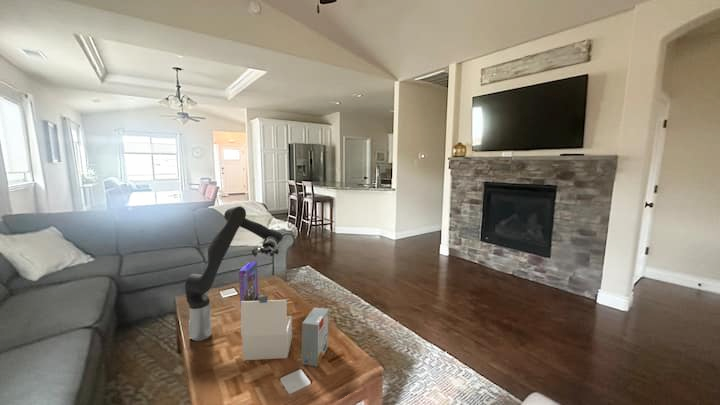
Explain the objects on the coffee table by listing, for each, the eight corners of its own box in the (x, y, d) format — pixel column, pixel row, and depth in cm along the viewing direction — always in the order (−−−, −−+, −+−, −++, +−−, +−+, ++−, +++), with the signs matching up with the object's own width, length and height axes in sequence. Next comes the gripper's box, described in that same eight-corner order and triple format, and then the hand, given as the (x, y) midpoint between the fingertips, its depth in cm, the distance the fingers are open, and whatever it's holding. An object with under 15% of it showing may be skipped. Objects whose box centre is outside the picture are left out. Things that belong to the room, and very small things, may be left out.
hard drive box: (317, 367, 128) (317, 325, 125) (301, 365, 129) (300, 323, 126) (328, 346, 143) (328, 308, 140) (313, 344, 144) (313, 306, 142)
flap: (241, 336, 130) (239, 340, 126) (241, 294, 129) (238, 297, 126) (286, 333, 132) (285, 337, 128) (286, 292, 131) (285, 295, 127)
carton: (242, 360, 132) (241, 335, 130) (252, 339, 147) (251, 317, 146) (287, 357, 134) (286, 333, 132) (292, 337, 149) (291, 315, 148)
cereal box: (248, 307, 180) (246, 270, 177) (240, 307, 180) (238, 270, 177) (258, 295, 197) (257, 261, 194) (251, 294, 197) (249, 261, 194)
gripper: (257, 240, 172) (249, 248, 156) (281, 240, 173) (276, 247, 157) (257, 252, 173) (249, 261, 157) (281, 252, 174) (276, 261, 158)
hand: (262, 254), depth 157 cm, fingers open, 8 cm apart
